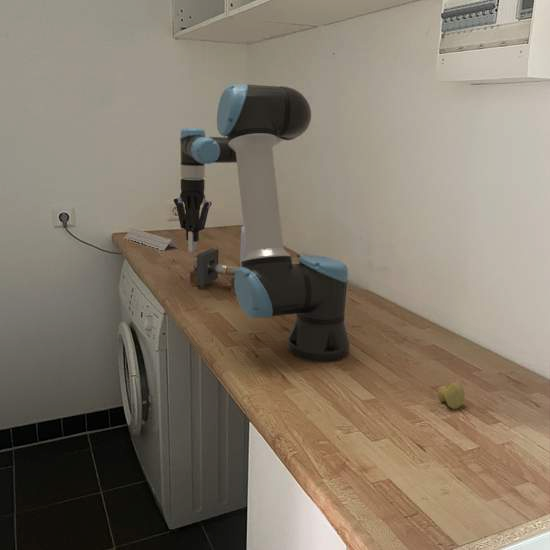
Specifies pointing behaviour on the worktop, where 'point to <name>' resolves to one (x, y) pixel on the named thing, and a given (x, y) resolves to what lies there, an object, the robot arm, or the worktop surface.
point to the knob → (452, 395)
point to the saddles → (194, 284)
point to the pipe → (219, 268)
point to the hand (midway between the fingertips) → (192, 250)
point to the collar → (206, 266)
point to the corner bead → (149, 239)
